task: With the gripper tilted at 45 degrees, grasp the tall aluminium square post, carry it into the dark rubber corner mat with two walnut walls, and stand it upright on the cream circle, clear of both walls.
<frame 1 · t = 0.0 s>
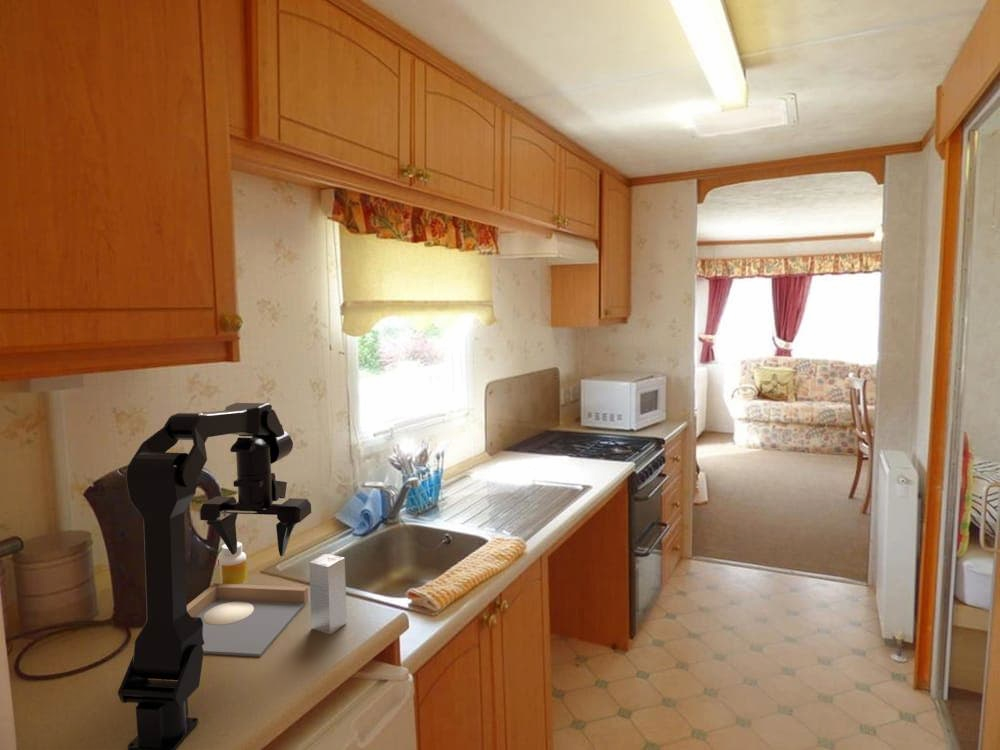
hand: (258, 554, 112), 15 cm above the worktop, tool pointing down, fingers open, 9 cm apart
supplement bottle: (234, 589, 130), on the worktop
aluminium post: (329, 626, 115), on the worktop
corner arena: (235, 624, 116), on the worktop
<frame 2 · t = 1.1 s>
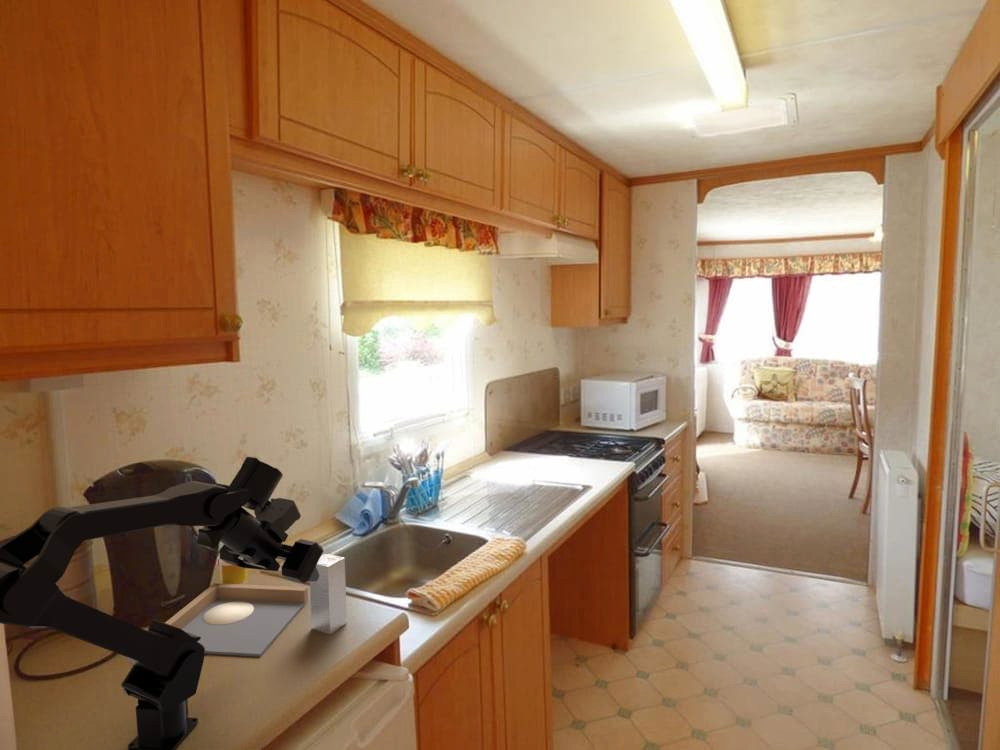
hand: (297, 573, 107), 13 cm above the worktop, tool tilted 45°, fingers open, 9 cm apart
nothing on the worktop moved.
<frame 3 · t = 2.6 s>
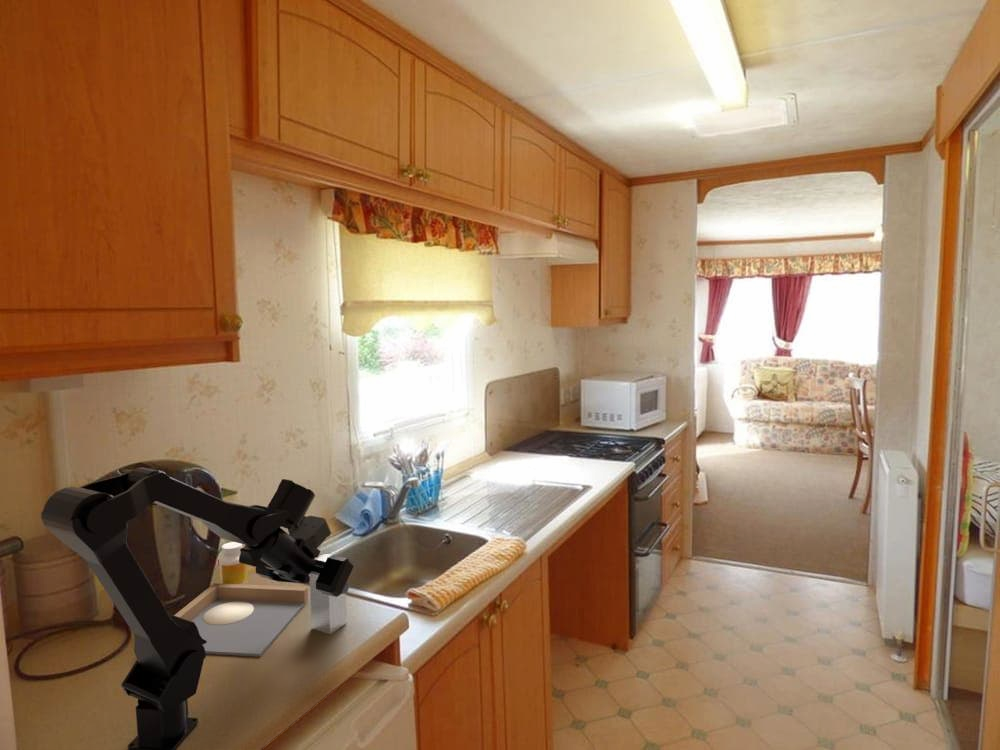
hand: (327, 585, 114), 8 cm above the worktop, tool tilted 45°, fingers open, 9 cm apart
nothing on the worktop moved.
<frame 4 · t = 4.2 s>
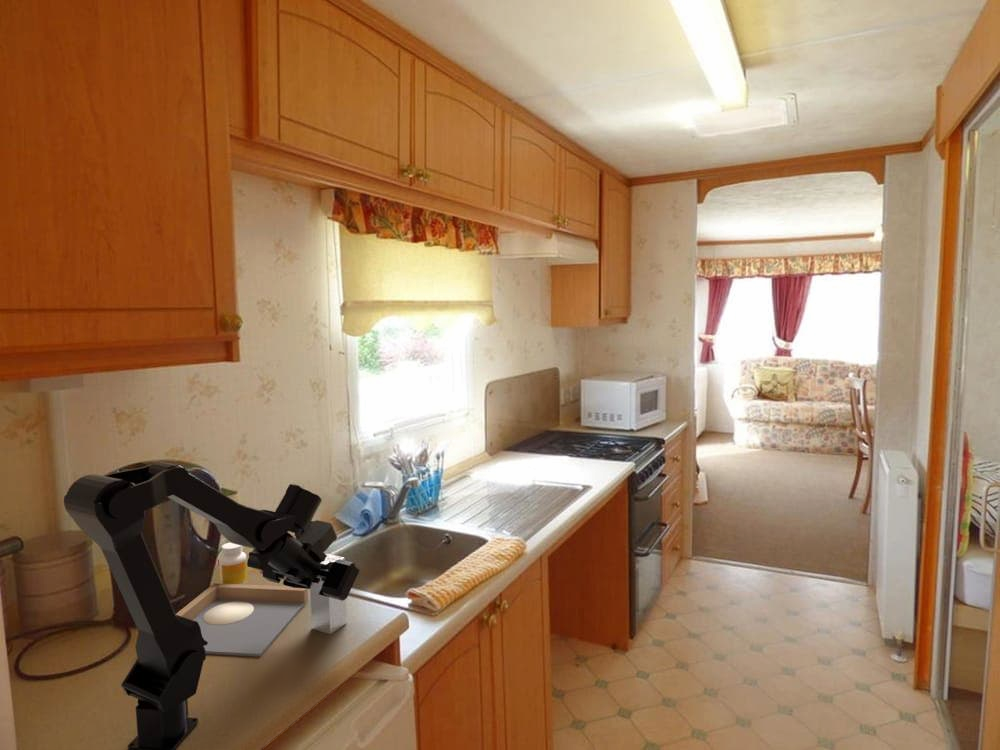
hand: (333, 589, 115), 7 cm above the worktop, tool tilted 45°, fingers closed on aluminium post, 4 cm apart
aluminium post: (329, 625, 115), on the worktop, touching gripper
everything else where it was.
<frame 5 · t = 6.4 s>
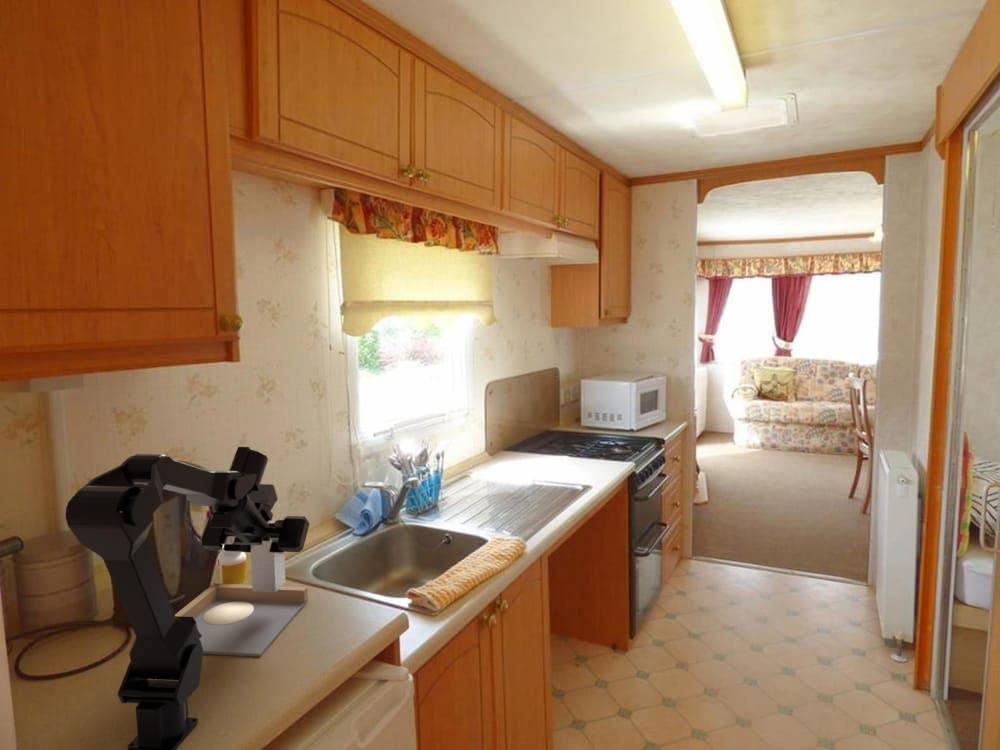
hand: (270, 551, 119), 12 cm above the worktop, tool tilted 45°, fingers closed on aluminium post, 4 cm apart
aluminium post: (269, 586, 118), point 6 cm above the worktop, touching gripper
everything else where it was.
when the fingers open (8 cm above the worktop, at t = 8.7 s): aluminium post drops 1 cm, resting on corner arena.
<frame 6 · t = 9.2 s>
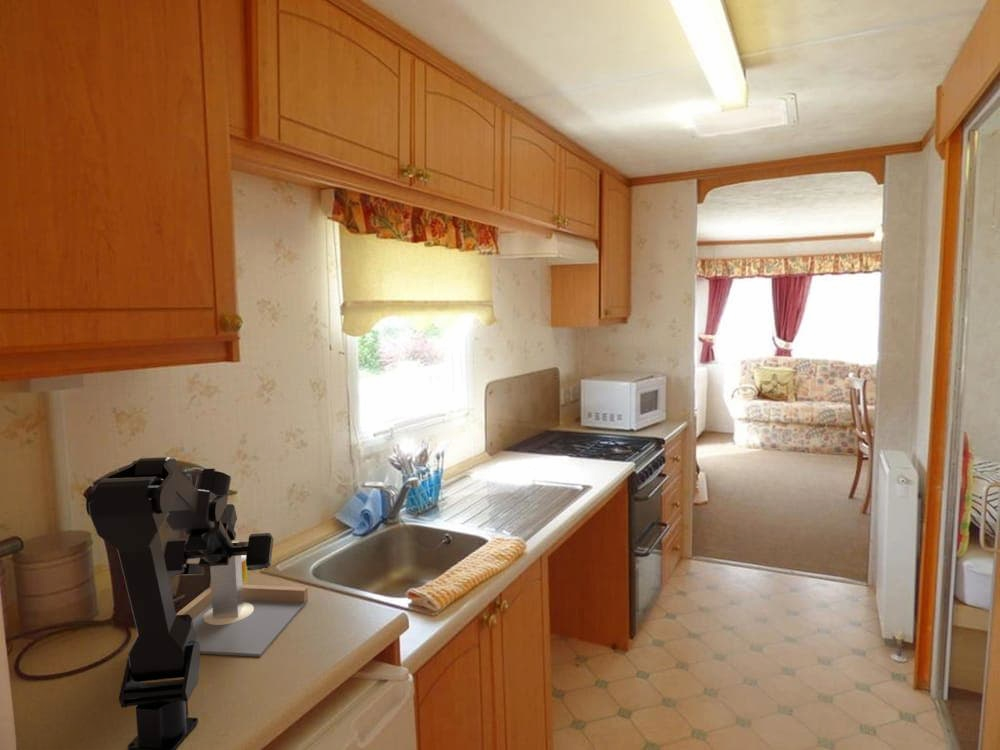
hand: (228, 570, 119), 9 cm above the worktop, tool tilted 45°, fingers open, 9 cm apart
aluminium post: (228, 612, 119), point 1 cm above the worktop, touching corner arena
everything else where it was.
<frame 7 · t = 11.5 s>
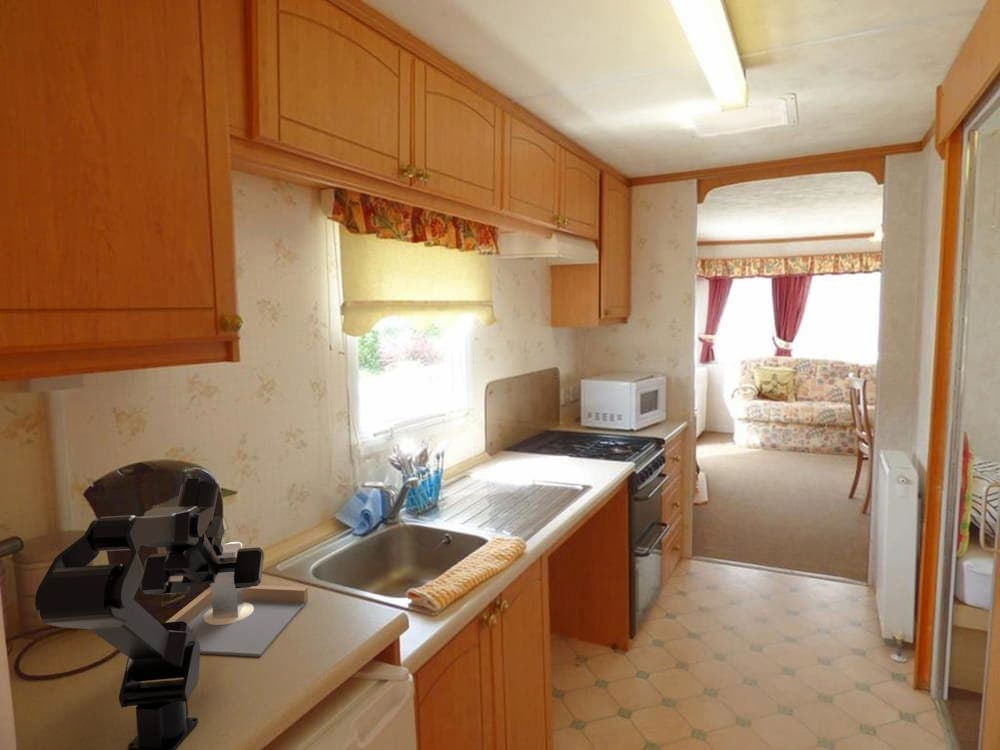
hand: (215, 587, 110), 9 cm above the worktop, tool tilted 45°, fingers open, 9 cm apart
nothing on the worktop moved.
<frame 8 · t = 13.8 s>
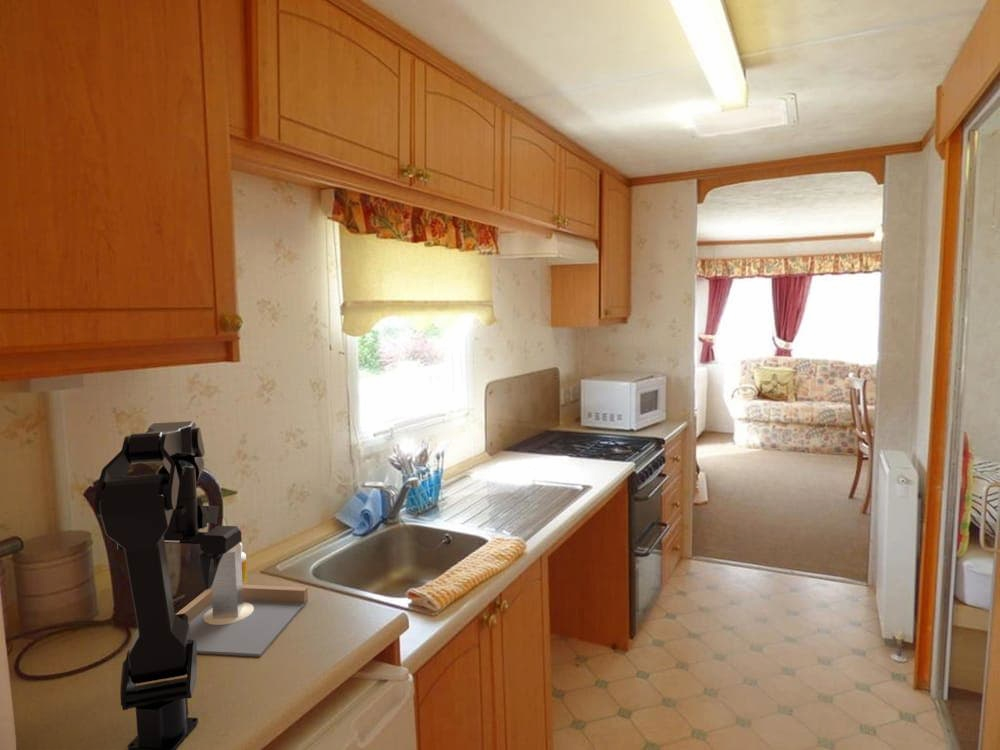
hand: (183, 586, 103), 13 cm above the worktop, tool pointing down, fingers open, 9 cm apart
nothing on the worktop moved.
at the end: aluminium post 0.0 cm from the target spot on the corner arena, point 0.6 cm above the corner arena's base; aluminium post tilted 0°; the gripper is holding nothing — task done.
